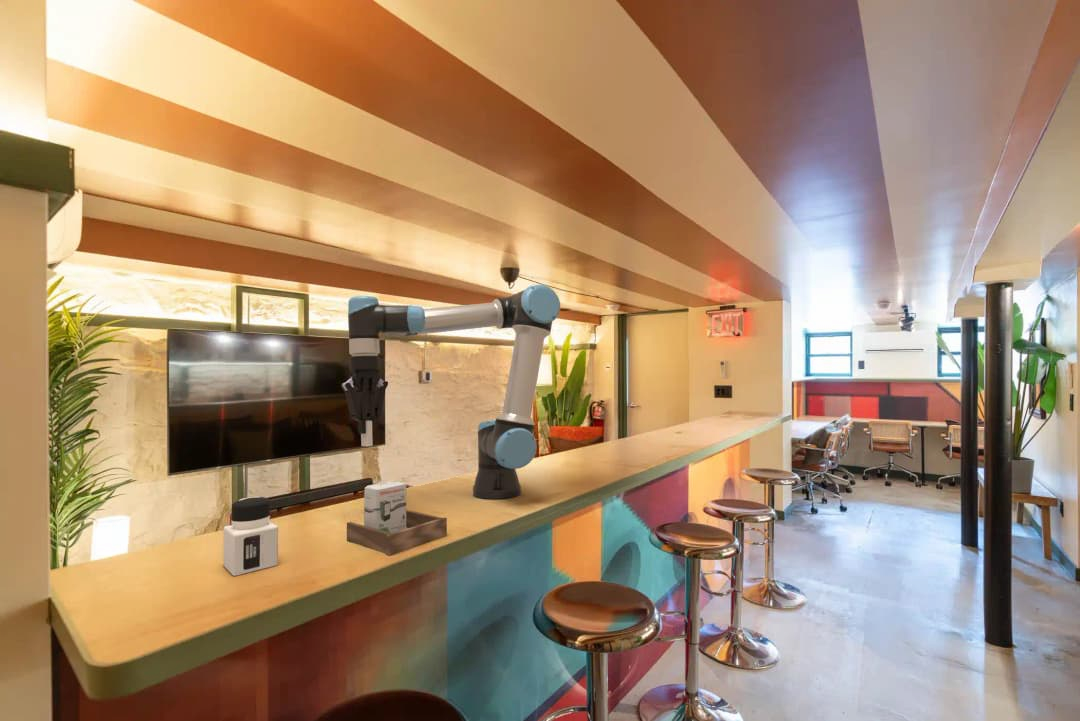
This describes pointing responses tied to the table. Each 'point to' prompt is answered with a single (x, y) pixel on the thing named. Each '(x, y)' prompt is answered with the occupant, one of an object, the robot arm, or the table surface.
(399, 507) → the ink box
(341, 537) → the table surface
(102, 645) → the table surface
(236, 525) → the container
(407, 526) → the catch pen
